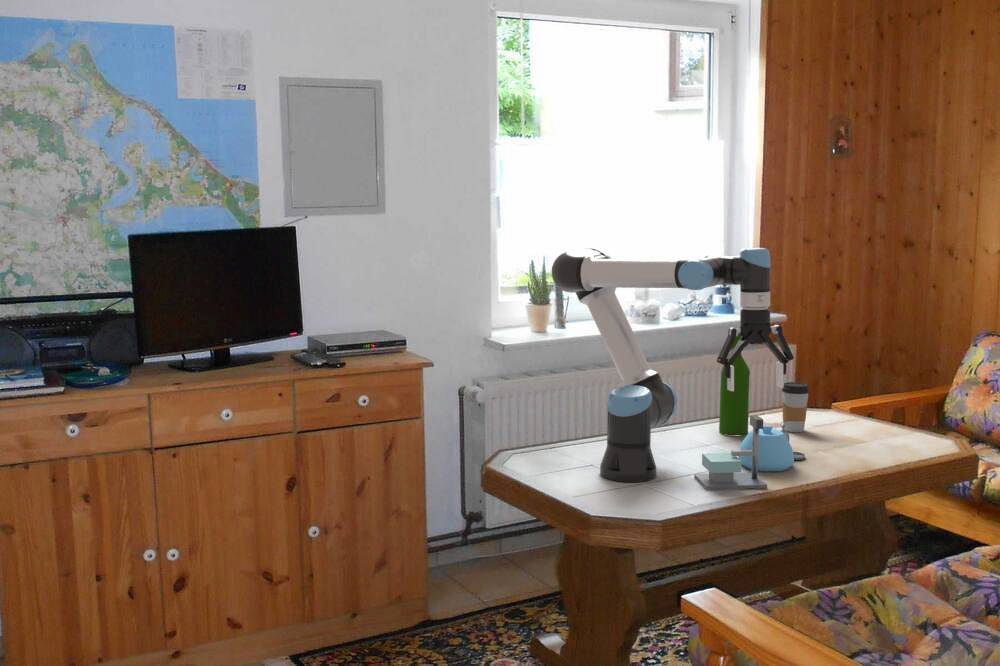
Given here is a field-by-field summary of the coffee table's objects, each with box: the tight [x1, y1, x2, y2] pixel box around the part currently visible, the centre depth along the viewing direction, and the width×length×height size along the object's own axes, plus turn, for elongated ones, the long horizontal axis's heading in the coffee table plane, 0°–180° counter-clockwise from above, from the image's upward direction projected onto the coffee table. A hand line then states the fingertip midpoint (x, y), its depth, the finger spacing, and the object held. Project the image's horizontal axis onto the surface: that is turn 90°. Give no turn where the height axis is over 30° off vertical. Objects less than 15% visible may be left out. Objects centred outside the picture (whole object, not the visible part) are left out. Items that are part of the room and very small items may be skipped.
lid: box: [701, 452, 743, 473], centre depth 256 cm, size 8×8×3 cm
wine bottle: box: [718, 333, 751, 436], centre depth 308 cm, size 9×9×32 cm
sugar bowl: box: [737, 424, 795, 472], centre depth 273 cm, size 15×15×12 cm
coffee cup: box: [781, 381, 810, 433], centre depth 312 cm, size 8×8×15 cm
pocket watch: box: [780, 421, 806, 461], centre depth 282 cm, size 8×8×10 cm
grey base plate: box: [694, 471, 768, 491], centre depth 257 cm, size 16×11×4 cm
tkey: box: [730, 414, 764, 479], centre depth 256 cm, size 7×5×16 cm
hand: (755, 388), depth 256 cm, fingers open, 13 cm apart
